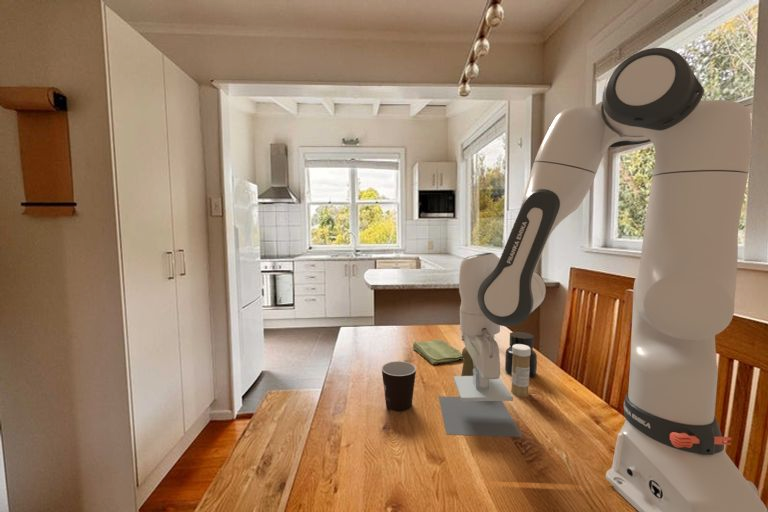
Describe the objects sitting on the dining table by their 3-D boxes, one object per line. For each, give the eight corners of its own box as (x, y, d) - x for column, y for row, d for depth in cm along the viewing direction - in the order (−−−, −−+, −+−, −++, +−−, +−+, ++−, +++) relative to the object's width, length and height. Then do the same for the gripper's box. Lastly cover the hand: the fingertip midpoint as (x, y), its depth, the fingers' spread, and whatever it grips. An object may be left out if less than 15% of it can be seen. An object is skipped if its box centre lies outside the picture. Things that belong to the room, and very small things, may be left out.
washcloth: (432, 367, 106) (432, 358, 106) (410, 348, 123) (410, 340, 123) (467, 362, 110) (467, 352, 110) (441, 344, 127) (441, 336, 127)
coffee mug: (411, 419, 77) (411, 378, 76) (376, 412, 79) (376, 372, 79) (421, 395, 88) (422, 359, 87) (391, 390, 90) (391, 355, 90)
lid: (512, 400, 70) (512, 381, 70) (461, 401, 71) (460, 381, 71) (498, 378, 81) (497, 361, 81) (453, 379, 82) (453, 362, 82)
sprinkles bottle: (511, 389, 90) (512, 342, 89) (529, 392, 89) (530, 344, 88) (510, 397, 86) (511, 348, 85) (529, 400, 84) (530, 350, 83)
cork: (482, 391, 90) (483, 352, 89) (460, 389, 91) (460, 350, 90) (480, 381, 96) (481, 344, 95) (459, 379, 97) (460, 343, 96)
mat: (522, 439, 69) (522, 437, 69) (446, 437, 70) (446, 434, 70) (500, 400, 85) (500, 398, 85) (438, 398, 86) (438, 396, 86)
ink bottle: (542, 374, 100) (544, 336, 99) (528, 382, 95) (530, 342, 94) (512, 364, 108) (514, 328, 107) (498, 371, 102) (499, 334, 101)
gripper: (507, 336, 65) (509, 404, 65) (483, 312, 85) (484, 364, 86) (475, 337, 65) (477, 404, 66) (458, 313, 85) (460, 364, 86)
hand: (481, 381), depth 76 cm, fingers closed on lid, 3 cm apart
